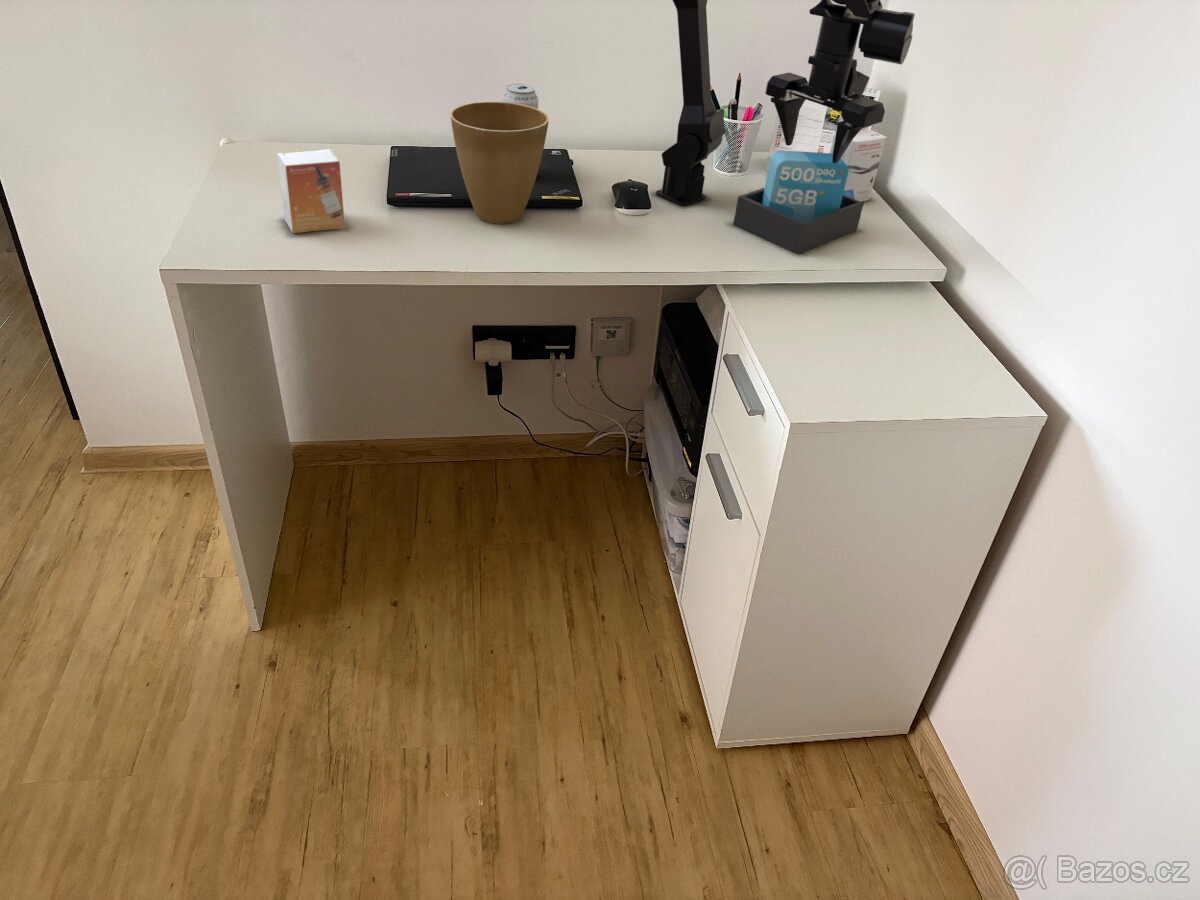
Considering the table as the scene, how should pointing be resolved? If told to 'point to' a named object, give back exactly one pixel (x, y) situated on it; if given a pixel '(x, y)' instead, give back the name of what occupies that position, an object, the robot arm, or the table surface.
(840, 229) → the black box
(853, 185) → the ink box
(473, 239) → the table surface
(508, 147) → the plant pot
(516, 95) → the energy drink can
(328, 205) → the small box
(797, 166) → the data package
